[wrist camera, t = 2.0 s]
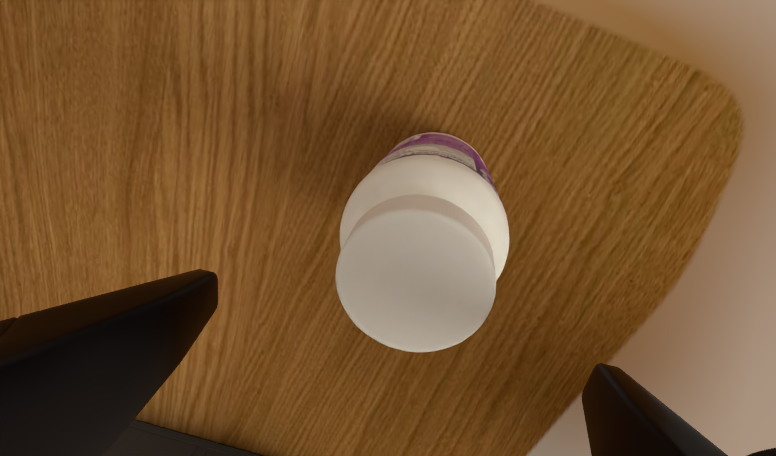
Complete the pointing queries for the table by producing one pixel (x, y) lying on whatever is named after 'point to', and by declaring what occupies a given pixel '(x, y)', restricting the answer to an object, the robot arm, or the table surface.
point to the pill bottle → (422, 245)
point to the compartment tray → (166, 443)
